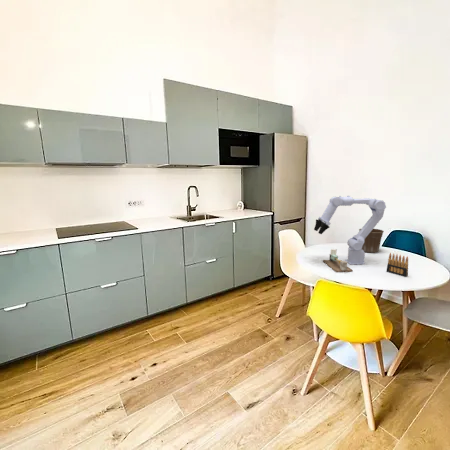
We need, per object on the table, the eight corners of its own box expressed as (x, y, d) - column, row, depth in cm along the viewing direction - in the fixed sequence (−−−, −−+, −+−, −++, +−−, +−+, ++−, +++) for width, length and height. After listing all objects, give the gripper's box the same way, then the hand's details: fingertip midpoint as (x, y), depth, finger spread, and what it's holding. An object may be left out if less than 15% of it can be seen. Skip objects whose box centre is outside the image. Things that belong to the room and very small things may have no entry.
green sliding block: (335, 258, 172) (336, 249, 171) (338, 260, 168) (339, 251, 167) (330, 258, 172) (330, 249, 170) (332, 260, 168) (333, 251, 167)
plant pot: (362, 246, 208) (363, 227, 205) (384, 250, 196) (386, 229, 193) (354, 251, 198) (355, 230, 194) (377, 255, 186) (379, 233, 183)
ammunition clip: (386, 271, 155) (388, 252, 153) (387, 271, 156) (389, 251, 154) (406, 277, 147) (408, 256, 144) (407, 276, 148) (410, 256, 145)
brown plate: (337, 261, 176) (337, 252, 175) (352, 271, 157) (353, 262, 156) (322, 261, 176) (323, 253, 175) (336, 272, 156) (336, 262, 155)
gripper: (318, 209, 175) (308, 226, 178) (327, 213, 161) (316, 232, 164) (327, 213, 176) (317, 230, 179) (337, 218, 162) (325, 237, 165)
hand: (317, 232), depth 171 cm, fingers open, 7 cm apart
